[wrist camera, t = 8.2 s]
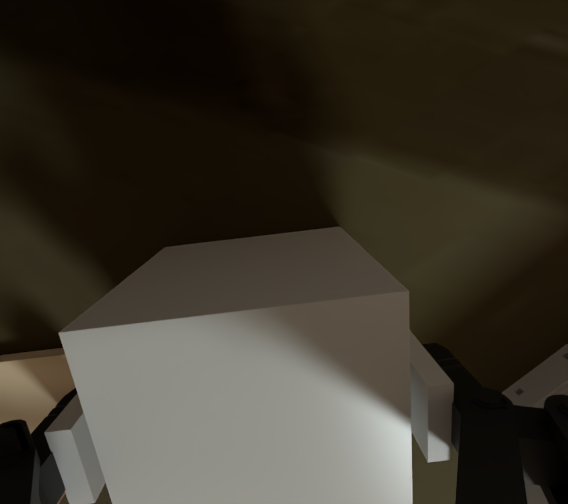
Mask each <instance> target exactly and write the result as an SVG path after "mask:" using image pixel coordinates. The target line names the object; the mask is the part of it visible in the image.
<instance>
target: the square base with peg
mask: <svg viewBox="0 0 568 504" xmlns="http://www.w3.org/2000/svg"><path fill="white" fill-rule="evenodd" d="M75 388H76V387H75V384H74V380H73V377H72V374H71V371H70V368H69V365H68V361H67V358H66V355H65V352H64V349H63V348H57V349H48V350H40V351H31V352H23V353H14V354H6V355H0V424H1V423H4V422H8V421H11V420H18V419H21V420H24V421H26V423H27V425H28V428H29V431H30V433H32V432H33V431H34V430H35V429H36V427H37V426H38V425H39V424H40V423H41V422H42V421H43V419H44V418H45V417H47V416H48V414H49V413H50V412H51V410H52V409H53V408H55V406H56V405H57V404H58V402H59V401H60V400H61V399H62V398H63V397H64V396H65V395H66V394H68V393H69V392H70V391H72V390H73V389H75ZM64 494H65V492H64V493H63V495H62V497H61V498H60V500H59V501H58V503H57V504H59V502H60V501H61V499H62V498H63V496H64Z"/></svg>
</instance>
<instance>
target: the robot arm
mask: <svg viewBox="0 0 568 504" xmlns="http://www.w3.org/2000/svg"><path fill="white" fill-rule="evenodd" d="M410 387H411V431H412V433H413V435H414V437H415V439H416V441H417V443H418V445H419V447H420V448H421V450H422V452H423V454H424V456H425V458H426V460H427V462H435V461H444V460H452V444H453V446H454V447H455V449H456V450H457V452H458V453H459V456H458V472H457V487H456V503H455V504H527V496H526V489H525V483H528V484H533V485H539V486H540V487H541V489H542V491H543V493H544V495H545V497H546V499H547V501H548V503H549V504H568V395H563V394H562V395H552V396H549V397H547V398H546V400H545V402H544V408H535V407H526V406H519V405H513V403H512V401H511V400H510V399H509V398H508V397H506V396H505V395H504V394H502V393H500V392H498V391H495V390H492V389H489V388H483V387H482V386H481V384H480V383H479V382H478V381H477V380H476V379H475V378H474V377H473V376H472V375H471V374H470V373H469V372H468V371H467V370H466V369H465V368H464V366H462V365H461V363H460V362H459V361H458V360H457V359H455V357H454V356H453V355H452V354H451V353H450V352H449V351H448V349H446V348H444V347H442V346H440V345H438V344H437V343H431V344H421V343H420V342H419V341H418V340H417V338H416V337H415V336H414V335H413V334H412V332H411V331H410ZM104 484H105V479H104V476H103V472H102V469H101V466H100V463H99V460H98V457H97V453H96V450H95V447H94V444H93V441H92V438H91V434H90V431H89V428H88V425H87V422H86V418H85V415H84V412H83V409H82V406H81V403H80V399H79V396H78V393H77V390H76V388H75V389H73V390H72V391H70V392H69V393H68V394H66V395H65V396H64V397H63V398H62V399H61V400H60V401H59V402H58V404H57V405H56V406H55V408H53V409H52V410H51V412H50V413H49V414H48V416H47V417H45V418H44V419H43V421H42V422H41V423H40V424H39V425H38V426H37V427H36V429H35V430H34V431H33V432H32V433H30V431H29V428H28V425H27V423H26V421H24V420H21V419H18V420H11V421H8V422H4V423H1V424H0V504H57V503H58V501H59V500H60V498H61V497H62V495H63V493H64V492H65V493H66V496H67V498H68V501H69V504H90V503H95V502H96V500H97V498H98V496H99V494H100V492H101V490H102V488H103V486H104Z"/></svg>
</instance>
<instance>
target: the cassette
mask: <svg viewBox="0 0 568 504" xmlns="http://www.w3.org/2000/svg"><path fill="white" fill-rule="evenodd" d="M502 394H504V395H505V396H506V397H508V398H509V399H510V400H511V401H512V403H513V405H519V406H526V407H535V408H544V402H545V400H546V398H547V397H549V396H552V395H562V394H563V395H568V344H566V345H565V346H564V347H562V348H561V349H560V350H558V351H557V352H556V353H554V354H553V355H552V356H550V357H549V358H547V359H546V360H545V361H543V362H542V363H541V364H539V365H538V366H537V367H535V368H534V369H533V370H531V371H530V372H529V373H527V374H526V375H525V376H523V377H522V378H521V379H519V380H518V381H517V382H515V383H514V384H513V385H511V386H510V387H509V388H507V389H506V390H505V391H503V392H502ZM525 489H526V496H527V504H549V503H548V501H547V499H546V497H545V495H544V493H543V491H542V489H541V487H540V486H539V485H533V484H528V483H525Z"/></svg>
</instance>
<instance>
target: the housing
mask: <svg viewBox="0 0 568 504" xmlns="http://www.w3.org/2000/svg"><path fill="white" fill-rule="evenodd" d="M59 336H60V339H61V342H62V345H63V349H64V352H65V355H66V358H67V361H68V365H69V368H70V371H71V374H72V377H73V380H74V384H75V387H76V390H77V393H78V396H79V399H80V403H81V406H82V409H83V412H84V415H85V418H86V422H87V425H88V428H89V431H90V434H91V438H92V441H93V444H94V447H95V450H96V453H97V457H98V460H99V463H100V466H101V469H102V472H103V476H104V479H105V482H106V485H107V488H108V491H109V495H110V498H111V501H112V504H413V503H412V445H411V387H410V329H409V291H408V290H407V289H406V288H405V287H404V286H403V285H402V284H401V283H400V282H399V281H398V280H397V279H396V278H394V277H393V276H392V275H391V274H390V273H389V272H388V271H387V270H386V269H385V268H384V267H383V266H382V265H381V264H379V263H378V262H377V261H376V260H375V259H374V258H373V257H372V256H371V255H370V254H369V253H368V252H367V251H366V250H364V249H363V248H362V247H361V246H360V245H359V244H358V243H357V242H356V241H355V240H354V239H353V238H352V237H350V236H349V235H348V234H347V233H346V232H345V231H344V230H343V229H342V228H341V227H332V228H323V229H315V230H306V231H298V232H289V233H280V234H272V235H263V236H255V237H246V238H238V239H229V240H221V241H212V242H204V243H195V244H187V245H178V246H170V247H164V248H163V249H162V250H161V251H159V252H158V253H157V254H156V255H154V256H153V257H152V258H151V259H150V260H148V261H147V262H146V263H145V264H143V265H142V266H141V267H140V268H138V269H137V270H136V271H135V272H133V273H132V274H131V275H130V276H128V277H127V278H126V279H125V280H123V281H122V282H121V283H120V284H118V285H117V286H116V287H115V288H113V289H112V290H111V291H110V292H108V293H107V294H106V295H105V296H103V297H102V298H101V299H100V300H99V301H97V302H96V303H95V304H94V305H92V306H91V307H90V308H89V309H87V310H86V311H85V312H84V313H82V314H81V315H80V316H79V317H77V318H76V319H75V320H74V321H72V322H71V323H70V324H69V325H67V326H66V327H65V328H64V329H62V330H61V331H60V332H59Z"/></svg>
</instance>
